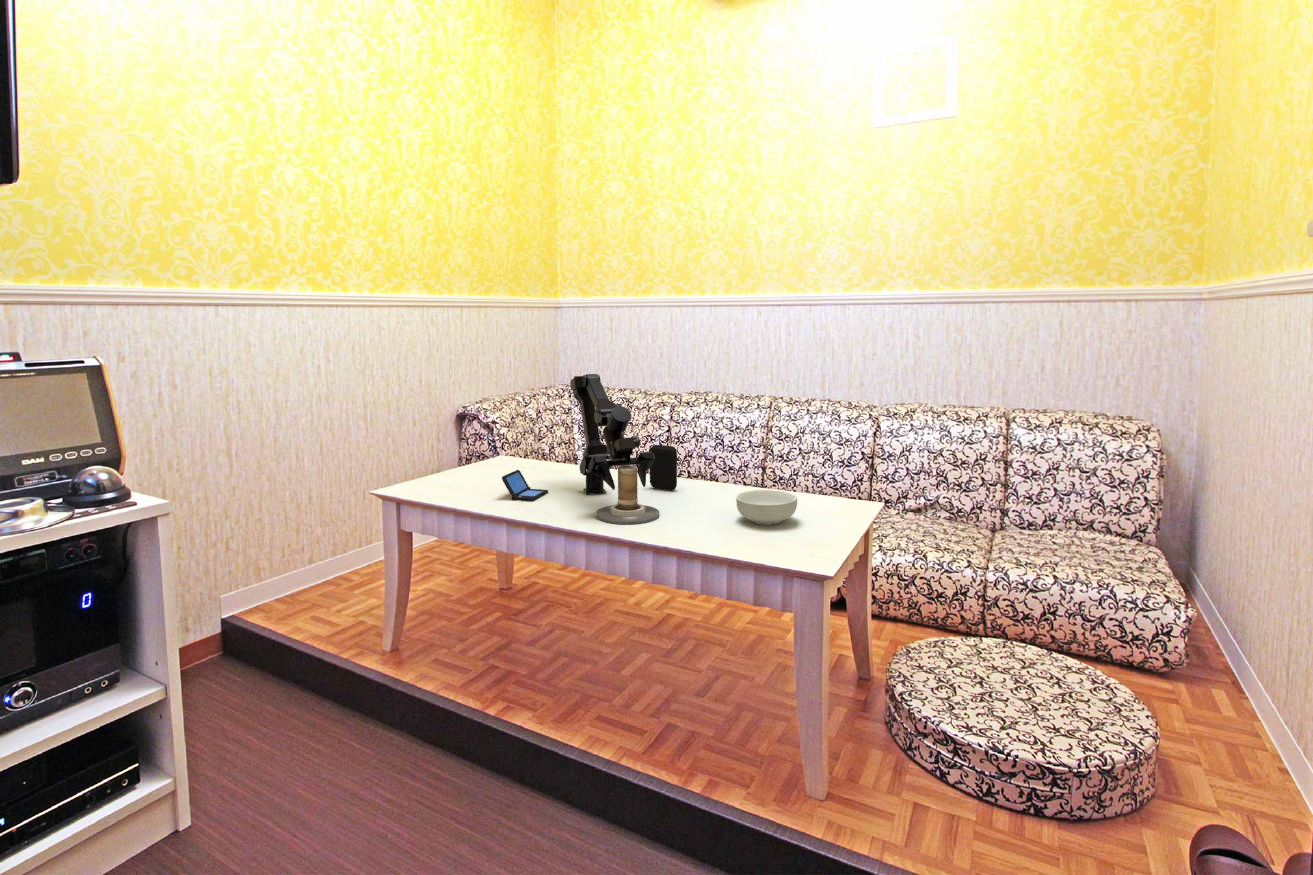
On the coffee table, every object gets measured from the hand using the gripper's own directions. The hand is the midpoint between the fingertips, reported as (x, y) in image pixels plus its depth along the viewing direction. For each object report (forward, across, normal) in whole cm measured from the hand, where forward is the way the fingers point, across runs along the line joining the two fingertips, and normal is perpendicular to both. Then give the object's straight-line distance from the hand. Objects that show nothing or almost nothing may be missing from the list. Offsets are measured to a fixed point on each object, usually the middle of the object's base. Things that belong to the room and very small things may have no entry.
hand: (629, 487), depth 204 cm
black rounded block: (-13, +22, +25) cm, 35 cm away
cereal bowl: (+19, +34, -7) cm, 39 cm away
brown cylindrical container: (+4, 0, +6) cm, 8 cm away
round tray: (+5, 0, +7) cm, 9 cm away
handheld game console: (-19, -22, +32) cm, 42 cm away
